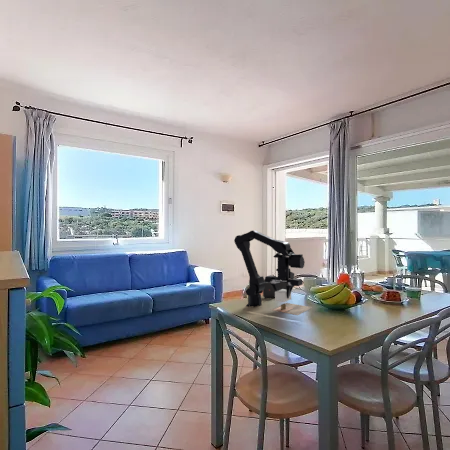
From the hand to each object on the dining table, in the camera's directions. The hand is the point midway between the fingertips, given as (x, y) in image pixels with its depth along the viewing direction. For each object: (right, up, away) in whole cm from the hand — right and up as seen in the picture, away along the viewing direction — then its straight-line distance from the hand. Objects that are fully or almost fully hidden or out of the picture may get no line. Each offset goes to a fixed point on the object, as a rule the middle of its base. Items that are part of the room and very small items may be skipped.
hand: (283, 297), depth 160 cm
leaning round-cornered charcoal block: (+1, -7, +29) cm, 30 cm away
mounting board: (+5, -7, +1) cm, 8 cm away
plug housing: (+1, -1, +1) cm, 2 cm away
